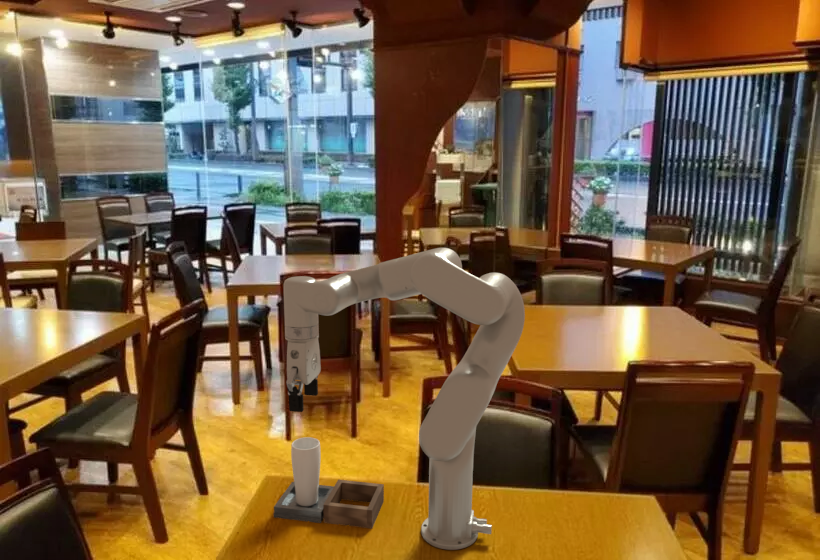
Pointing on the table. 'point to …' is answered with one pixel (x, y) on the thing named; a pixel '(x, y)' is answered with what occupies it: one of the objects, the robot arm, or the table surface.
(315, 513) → the metal cradle
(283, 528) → the table surface
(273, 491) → the table surface
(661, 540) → the table surface
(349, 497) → the frame
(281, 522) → the table surface
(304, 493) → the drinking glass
